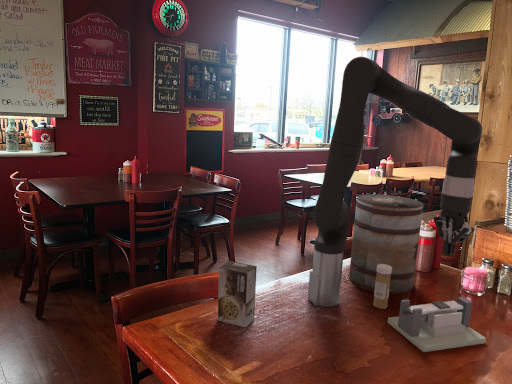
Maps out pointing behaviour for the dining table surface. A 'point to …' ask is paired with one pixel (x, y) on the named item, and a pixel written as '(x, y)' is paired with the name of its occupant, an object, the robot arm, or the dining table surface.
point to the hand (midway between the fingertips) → (448, 255)
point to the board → (437, 327)
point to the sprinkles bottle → (382, 286)
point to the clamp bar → (436, 307)
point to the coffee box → (236, 293)
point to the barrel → (385, 241)
